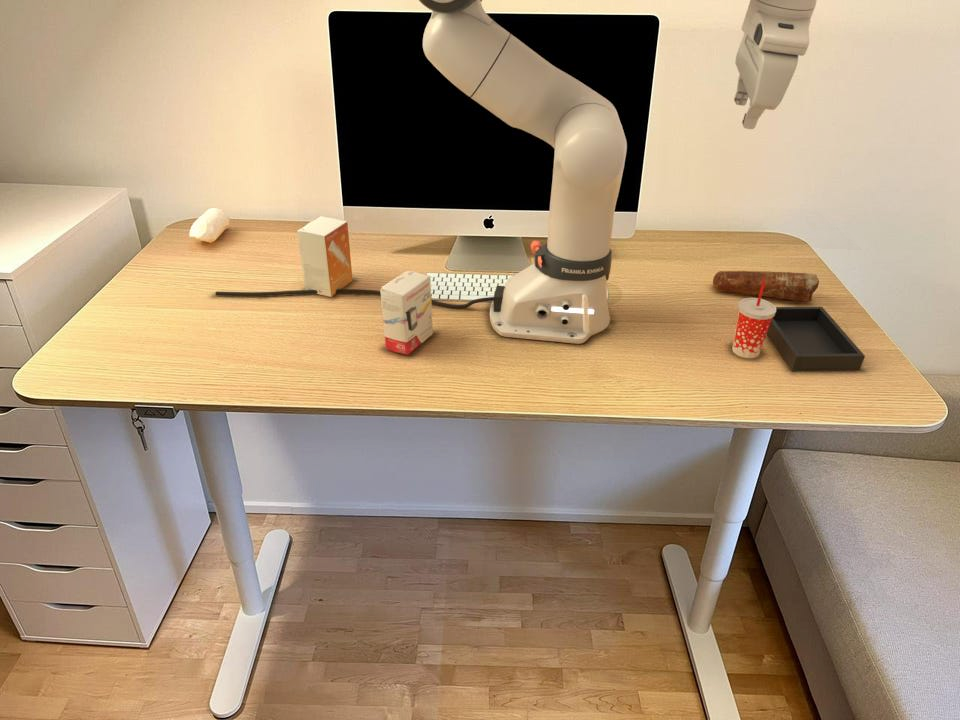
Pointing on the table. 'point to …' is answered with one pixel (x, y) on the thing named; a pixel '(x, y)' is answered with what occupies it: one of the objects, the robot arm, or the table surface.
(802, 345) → the tray
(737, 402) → the table surface
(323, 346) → the table surface
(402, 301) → the ink box
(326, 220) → the small box
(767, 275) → the bread
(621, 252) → the table surface
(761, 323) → the beverage cup
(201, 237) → the roll
